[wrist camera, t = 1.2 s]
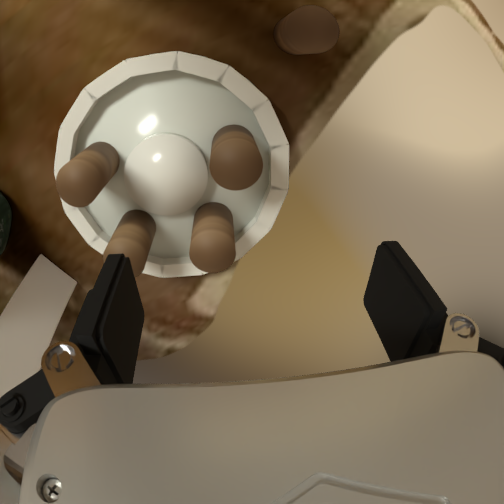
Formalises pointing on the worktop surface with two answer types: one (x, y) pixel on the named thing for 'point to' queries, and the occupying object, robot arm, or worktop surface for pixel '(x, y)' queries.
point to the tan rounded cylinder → (307, 31)
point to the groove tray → (173, 153)
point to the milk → (31, 321)
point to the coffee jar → (4, 222)
